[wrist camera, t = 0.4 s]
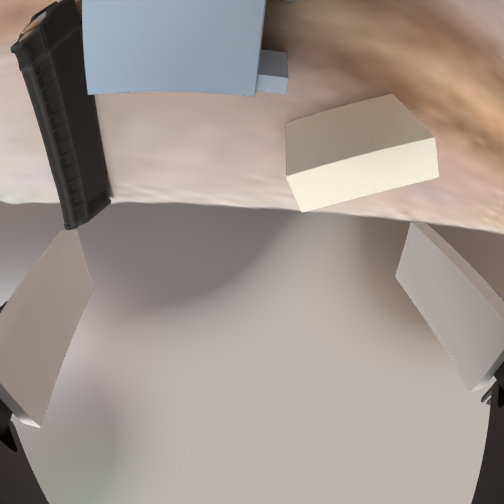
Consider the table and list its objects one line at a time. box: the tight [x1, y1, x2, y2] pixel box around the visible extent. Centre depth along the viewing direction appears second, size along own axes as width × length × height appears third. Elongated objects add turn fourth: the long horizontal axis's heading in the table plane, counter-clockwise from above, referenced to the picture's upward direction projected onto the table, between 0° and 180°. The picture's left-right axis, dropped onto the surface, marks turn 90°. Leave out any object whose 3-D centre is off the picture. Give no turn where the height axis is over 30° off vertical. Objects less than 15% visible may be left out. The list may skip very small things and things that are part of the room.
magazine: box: [11, 0, 111, 230], centre depth 29 cm, size 17×3×30 cm
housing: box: [82, 0, 295, 97], centre depth 19 cm, size 14×8×14 cm, turn 85°
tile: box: [286, 94, 439, 212], centre depth 27 cm, size 13×4×12 cm, turn 115°
